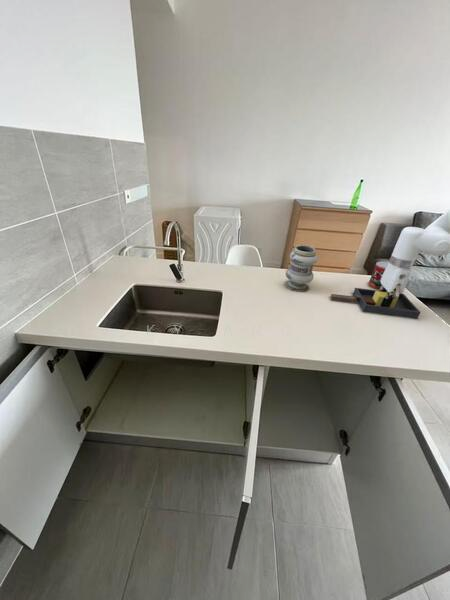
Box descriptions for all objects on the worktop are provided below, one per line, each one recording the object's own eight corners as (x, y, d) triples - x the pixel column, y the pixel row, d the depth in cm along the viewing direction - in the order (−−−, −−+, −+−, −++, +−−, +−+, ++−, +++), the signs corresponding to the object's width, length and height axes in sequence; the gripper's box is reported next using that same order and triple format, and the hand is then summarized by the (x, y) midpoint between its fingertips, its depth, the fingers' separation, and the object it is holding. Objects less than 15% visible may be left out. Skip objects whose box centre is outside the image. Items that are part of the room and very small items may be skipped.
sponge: (389, 302, 101) (393, 293, 98) (393, 307, 97) (398, 298, 95) (371, 300, 102) (375, 290, 99) (375, 305, 98) (379, 296, 96)
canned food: (364, 282, 117) (372, 261, 111) (378, 282, 118) (387, 261, 112) (375, 290, 110) (385, 268, 105) (390, 289, 112) (400, 267, 106)
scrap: (371, 300, 101) (372, 298, 101) (374, 305, 98) (376, 303, 97) (361, 299, 102) (362, 296, 101) (364, 304, 99) (365, 301, 98)
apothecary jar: (281, 289, 107) (289, 250, 98) (284, 278, 117) (292, 241, 107) (310, 294, 104) (320, 255, 95) (310, 282, 114) (320, 245, 104)
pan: (400, 299, 104) (403, 293, 103) (417, 318, 92) (421, 312, 91) (352, 293, 107) (355, 287, 105) (363, 311, 95) (365, 305, 93)
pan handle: (357, 300, 102) (360, 294, 100) (359, 303, 100) (361, 298, 98) (330, 297, 103) (331, 291, 102) (331, 300, 101) (333, 294, 99)
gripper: (424, 272, 82) (401, 316, 92) (402, 255, 96) (384, 294, 106) (400, 269, 83) (379, 313, 93) (381, 252, 97) (365, 292, 107)
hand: (382, 303), depth 99 cm, fingers closed on sponge, 4 cm apart
